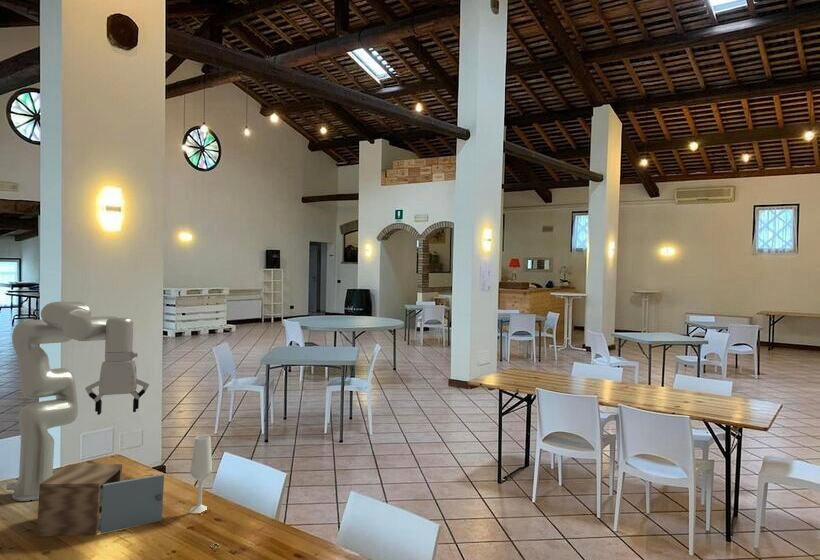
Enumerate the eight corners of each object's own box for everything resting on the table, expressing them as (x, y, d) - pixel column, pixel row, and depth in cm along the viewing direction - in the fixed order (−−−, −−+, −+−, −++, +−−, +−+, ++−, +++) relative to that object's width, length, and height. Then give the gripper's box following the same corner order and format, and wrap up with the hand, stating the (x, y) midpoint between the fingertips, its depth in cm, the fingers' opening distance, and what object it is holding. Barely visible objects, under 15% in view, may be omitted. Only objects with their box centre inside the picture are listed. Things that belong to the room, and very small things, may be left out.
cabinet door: (97, 532, 154) (99, 484, 154) (160, 518, 165) (163, 474, 165) (98, 536, 152) (101, 487, 152) (162, 521, 163) (165, 476, 163)
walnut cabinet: (36, 536, 151) (39, 484, 152) (66, 511, 168) (68, 464, 169) (96, 535, 154) (98, 483, 154) (119, 510, 170) (122, 464, 171)
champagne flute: (185, 509, 173) (189, 436, 174) (206, 504, 178) (209, 433, 178) (192, 516, 168) (196, 441, 169) (213, 511, 173) (216, 438, 173)
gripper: (150, 355, 171) (148, 408, 170) (88, 357, 164) (86, 412, 163) (148, 357, 164) (147, 412, 163) (84, 359, 157) (82, 417, 156)
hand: (117, 412), depth 163 cm, fingers open, 9 cm apart
